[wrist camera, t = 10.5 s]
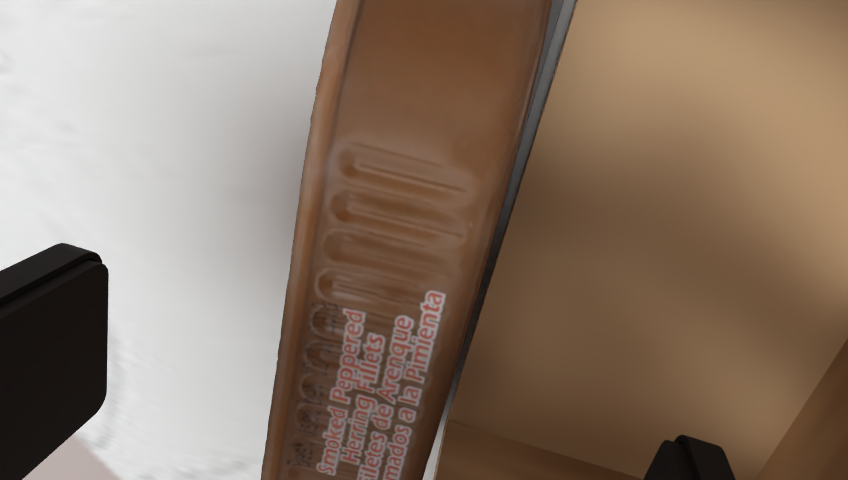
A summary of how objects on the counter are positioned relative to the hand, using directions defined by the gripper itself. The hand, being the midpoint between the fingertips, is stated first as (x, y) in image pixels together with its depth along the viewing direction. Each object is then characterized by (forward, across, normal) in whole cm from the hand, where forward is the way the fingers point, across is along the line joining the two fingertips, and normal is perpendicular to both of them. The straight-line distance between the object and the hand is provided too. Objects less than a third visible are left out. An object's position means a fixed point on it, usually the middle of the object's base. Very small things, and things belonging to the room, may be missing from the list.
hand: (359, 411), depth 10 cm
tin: (+8, 0, -1) cm, 8 cm away
